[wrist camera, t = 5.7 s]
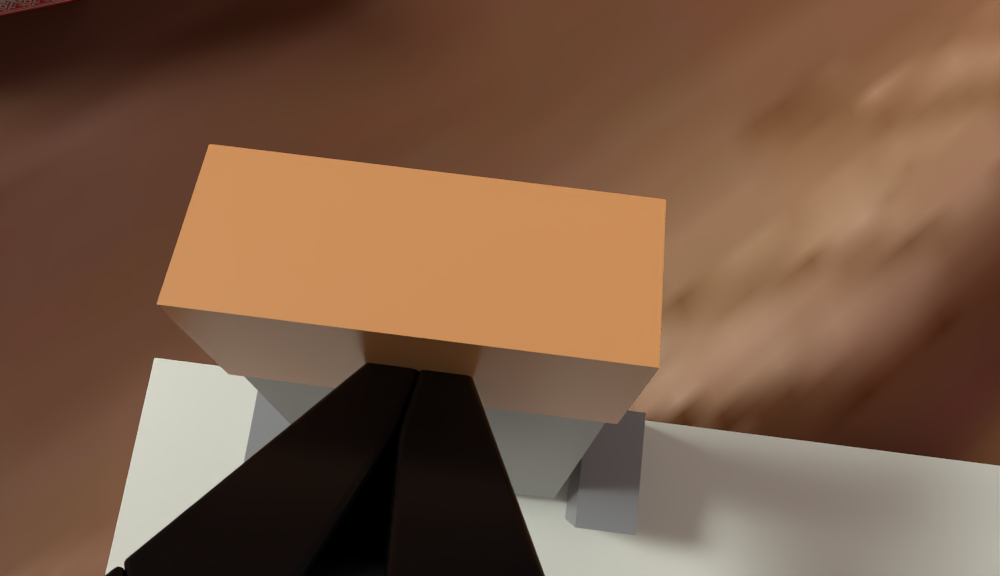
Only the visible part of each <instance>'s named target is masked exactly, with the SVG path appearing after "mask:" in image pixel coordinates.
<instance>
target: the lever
mask: <svg viewBox="0 0 1000 576" xmlns="http://www.w3.org/2000/svg"><path fill="white" fill-rule="evenodd" d="M665 213H666V199H657V198H649V197H641V196H633V195H624V194H616V193H608V192H600V191H592V190H583V189H575V188H567V187H559V186H550V185H542V184H534V183H526V182H517V181H509V180H501V179H493V178H485V177H476V176H468V175H460V174H452V173H443V172H435V171H427V170H419V169H410V168H402V167H394V166H386V165H378V164H369V163H361V162H353V161H345V160H336V159H328V158H320V157H312V156H304V155H295V154H287V153H279V152H271V151H262V150H254V149H246V148H238V147H229V146H221V145H213V144H209V147H208V150H207V153H206V156H205V159H204V162H203V165H202V168H201V171H200V174H199V177H198V180H197V183H196V186H195V189H194V192H193V195H192V198H191V201H190V204H189V207H188V210H187V213H186V216H185V219H184V223H183V226H182V229H181V232H180V235H179V238H178V241H177V244H176V247H175V250H174V253H173V256H172V259H171V262H170V265H169V268H168V271H167V274H166V277H165V280H164V283H163V286H162V289H161V292H160V296H159V299H158V302H157V305H158V306H159V307H160V308H161V309H162V310H163V311H164V312H165V313H166V314H167V315H168V316H169V317H170V318H171V319H172V320H173V321H174V322H175V323H176V324H177V325H178V326H179V327H180V328H181V329H182V330H183V331H184V332H185V333H187V334H188V335H189V336H190V337H191V338H192V339H193V340H194V341H195V342H196V343H197V344H198V345H199V346H200V347H201V348H202V349H203V350H204V351H205V352H206V353H207V354H208V355H209V356H210V357H211V358H212V359H213V360H214V361H215V362H216V363H217V364H218V365H219V366H220V367H221V368H222V369H223V370H225V371H226V372H227V373H228V374H229V375H237V376H244V377H245V378H246V379H247V380H248V381H249V382H250V383H251V384H252V385H253V386H254V387H255V388H256V389H257V390H258V391H259V392H260V393H261V394H262V395H263V396H264V398H265V399H266V400H267V401H268V402H269V403H270V404H271V405H272V406H273V407H274V408H275V409H276V410H277V411H278V412H279V413H280V414H281V415H282V416H283V417H284V418H285V419H286V420H287V421H288V422H289V423H290V424H292V423H293V422H294V421H296V420H297V419H298V418H299V417H301V416H302V415H303V414H304V413H305V412H307V411H308V410H309V409H310V408H312V407H313V406H314V405H315V404H316V403H318V402H319V401H320V400H321V399H323V398H324V397H325V396H326V395H327V394H329V393H330V392H331V391H332V390H334V389H335V388H336V387H337V386H338V385H340V384H341V383H342V382H343V381H345V380H346V379H347V378H348V377H350V376H351V375H352V374H353V373H354V372H356V371H357V370H358V369H359V368H361V367H362V366H363V365H364V364H365V363H375V364H383V365H391V366H399V367H406V368H413V369H416V370H417V371H418V372H420V371H421V370H430V371H438V372H445V373H453V374H461V375H468V376H471V377H472V378H473V380H474V383H475V386H476V388H477V391H478V394H479V397H480V399H481V402H482V405H483V407H484V410H485V413H486V416H487V418H488V421H489V424H490V427H491V429H492V432H493V435H494V437H495V440H496V443H497V446H498V448H499V451H500V454H501V457H502V459H503V462H504V465H505V468H506V470H507V473H508V476H509V478H510V481H511V484H512V487H513V489H514V492H515V494H521V495H528V496H536V497H544V498H551V499H554V498H555V496H556V495H557V493H558V492H559V490H560V489H561V488H562V486H563V485H564V483H565V482H566V480H567V479H568V477H569V476H570V474H571V473H572V471H573V470H574V468H575V467H576V465H577V464H578V462H579V461H580V459H581V458H582V456H583V455H584V454H585V452H586V451H587V449H588V448H589V446H590V445H591V443H592V442H593V440H594V439H595V437H596V436H597V434H598V433H599V431H600V430H601V428H602V427H603V425H604V424H605V423H612V424H618V423H619V421H620V420H621V419H622V417H623V416H624V415H625V413H626V412H627V411H628V409H629V408H630V407H631V405H632V404H633V402H634V401H635V400H636V398H637V397H638V396H639V394H640V393H641V392H642V390H643V389H644V388H645V386H646V385H647V384H648V382H649V381H650V380H651V378H652V377H653V376H654V374H655V373H656V372H657V370H658V369H659V363H660V338H661V313H662V288H663V263H664V238H665Z"/></svg>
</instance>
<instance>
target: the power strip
mask: <svg viewBox="0 0 1000 576" xmlns="http://www.w3.org/2000/svg"><path fill="white" fill-rule="evenodd" d="M645 415H646V413H641V412H633V411H627V412H626V413H625V415H624V416H623V417H622V419H621V420H620V421H619V423H618V424H612V423H605V424H604V425H603V427H602V428H601V430H600V431H599V433H598V434H597V436H596V437H595V439H594V440H593V442H592V443H591V445H590V446H589V448H588V449H587V451H586V452H585V454H584V455H583V456H582V458H581V459H580V461H579V462H578V464H577V465H576V467H575V468H574V470H573V471H572V473H571V474H570V476H569V477H568V479H567V480H566V482H565V483H564V485H563V486H562V488H561V489H560V490H559V492H558V493H557V495H556V496H555V498H554V499H551V498H544V497H536V496H528V495H521V494H515V495H516V498H517V500H518V503H519V506H520V509H521V511H522V514H523V517H524V519H525V522H526V525H527V528H528V530H529V533H530V536H531V539H532V541H533V544H534V547H535V549H536V552H537V555H538V558H539V560H540V563H541V566H542V569H543V571H544V574H545V576H1000V466H997V465H989V464H981V463H974V462H966V461H958V460H950V459H942V458H934V457H927V456H919V455H911V454H903V453H895V452H887V451H880V450H872V449H864V448H856V447H848V446H840V445H833V444H825V443H817V442H809V441H801V440H794V439H786V438H778V437H770V436H762V435H754V434H747V433H739V432H731V431H723V430H715V429H707V428H700V427H692V426H684V425H676V424H668V423H660V422H653V421H645ZM289 425H291V424H290V423H289V422H288V421H287V420H286V419H285V418H284V417H283V416H282V415H281V414H280V413H279V412H278V411H277V410H276V409H275V408H274V407H273V406H272V405H271V404H270V403H269V402H268V401H267V400H266V399H265V398H264V396H263V395H262V394H261V393H260V392H259V391H258V390H257V389H256V388H255V387H254V386H253V385H252V384H251V383H250V382H249V381H248V380H247V379H246V378H245V377H244V376H237V375H229V374H228V373H227V372H226V371H225V370H223V369H222V368H221V367H220V366H214V365H207V364H199V363H191V362H183V361H175V360H167V359H160V358H154V362H153V367H152V371H151V376H150V380H149V384H148V389H147V393H146V398H145V402H144V406H143V411H142V415H141V420H140V424H139V428H138V433H137V437H136V442H135V446H134V450H133V455H132V459H131V464H130V468H129V473H128V477H127V481H126V486H125V490H124V495H123V499H122V503H121V508H120V512H119V517H118V521H117V525H116V530H115V534H114V539H113V543H112V547H111V552H110V556H109V561H108V565H107V570H106V574H108V573H109V572H110V571H111V570H112V569H114V568H115V567H118V566H119V567H122V568H124V561H125V560H126V559H127V558H128V557H129V556H130V555H131V554H133V553H134V552H135V551H136V550H138V549H139V548H140V547H141V546H142V545H144V544H145V543H146V542H147V541H149V540H150V539H151V538H152V537H153V536H155V535H156V534H157V533H158V532H160V531H161V530H162V529H163V528H164V527H166V526H167V525H168V524H169V523H171V522H172V521H173V520H174V519H176V518H177V517H178V516H179V515H180V514H182V513H183V512H184V511H185V510H187V509H188V508H189V507H190V506H191V505H193V504H194V503H195V502H196V501H198V500H199V499H200V498H201V497H202V496H204V495H205V494H206V493H207V492H209V491H210V490H211V489H212V488H214V487H215V486H216V485H217V484H218V483H220V482H221V481H222V480H223V479H225V478H226V477H227V476H228V475H229V474H231V473H232V472H233V471H234V470H236V469H237V468H238V467H239V466H240V465H242V464H243V463H244V462H245V461H247V460H248V459H249V458H250V457H251V456H253V455H254V454H255V453H256V452H258V451H259V450H260V449H261V448H263V447H264V446H265V445H266V444H267V443H269V442H270V441H271V440H272V439H274V438H275V437H276V436H277V435H278V434H280V433H281V432H282V431H283V430H285V429H286V428H287V427H288V426H289ZM124 570H125V569H124ZM106 574H105V575H106Z"/></svg>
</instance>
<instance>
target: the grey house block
mask: <svg viewBox="0 0 1000 576" xmlns="http://www.w3.org/2000/svg"><path fill="white" fill-rule="evenodd" d="M72 1H77V0H0V16H3V15H8V14H13V13H18V12H23V11H28V10H33V9H38V8H43V7H48V6H52V5H57V4H62V3H67V2H72Z"/></svg>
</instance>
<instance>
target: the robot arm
mask: <svg viewBox="0 0 1000 576" xmlns="http://www.w3.org/2000/svg"><path fill="white" fill-rule="evenodd" d="M124 569H125V570H124ZM105 576H545V574H544V571H543V569H542V566H541V563H540V560H539V558H538V555H537V552H536V549H535V547H534V544H533V541H532V539H531V536H530V533H529V530H528V528H527V525H526V522H525V519H524V517H523V514H522V511H521V509H520V506H519V503H518V500H517V498H516V495H515V492H514V489H513V487H512V484H511V481H510V478H509V476H508V473H507V470H506V468H505V465H504V462H503V459H502V457H501V454H500V451H499V448H498V446H497V443H496V440H495V437H494V435H493V432H492V429H491V427H490V424H489V421H488V418H487V416H486V413H485V410H484V407H483V405H482V402H481V399H480V397H479V394H478V391H477V388H476V386H475V383H474V380H473V378H472V377H471V376H468V375H461V374H453V373H445V372H438V371H430V370H421V371H420V372H418V371H417V370H416V369H413V368H406V367H399V366H391V365H383V364H375V363H365V364H364V365H363V366H362V367H361V368H359V369H358V370H357V371H356V372H354V373H353V374H352V375H351V376H350V377H348V378H347V379H346V380H345V381H343V382H342V383H341V384H340V385H338V386H337V387H336V388H335V389H334V390H332V391H331V392H330V393H329V394H327V395H326V396H325V397H324V398H323V399H321V400H320V401H319V402H318V403H316V404H315V405H314V406H313V407H312V408H310V409H309V410H308V411H307V412H305V413H304V414H303V415H302V416H301V417H299V418H298V419H297V420H296V421H294V422H293V423H292V424H291V425H289V426H288V427H287V428H286V429H285V430H283V431H282V432H281V433H280V434H278V435H277V436H276V437H275V438H274V439H272V440H271V441H270V442H269V443H267V444H266V445H265V446H264V447H263V448H261V449H260V450H259V451H258V452H256V453H255V454H254V455H253V456H251V457H250V458H249V459H248V460H247V461H245V462H244V463H243V464H242V465H240V466H239V467H238V468H237V469H236V470H234V471H233V472H232V473H231V474H229V475H228V476H227V477H226V478H225V479H223V480H222V481H221V482H220V483H218V484H217V485H216V486H215V487H214V488H212V489H211V490H210V491H209V492H207V493H206V494H205V495H204V496H202V497H201V498H200V499H199V500H198V501H196V502H195V503H194V504H193V505H191V506H190V507H189V508H188V509H187V510H185V511H184V512H183V513H182V514H180V515H179V516H178V517H177V518H176V519H174V520H173V521H172V522H171V523H169V524H168V525H167V526H166V527H164V528H163V529H162V530H161V531H160V532H158V533H157V534H156V535H155V536H153V537H152V538H151V539H150V540H149V541H147V542H146V543H145V544H144V545H142V546H141V547H140V548H139V549H138V550H136V551H135V552H134V553H133V554H131V555H130V556H129V557H128V558H127V559H126V560H125V561H124V568H122V567H119V566H118V567H115V568H114V569H112V570H111V571H110V572H109V573H108V574H106V575H105Z"/></svg>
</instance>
